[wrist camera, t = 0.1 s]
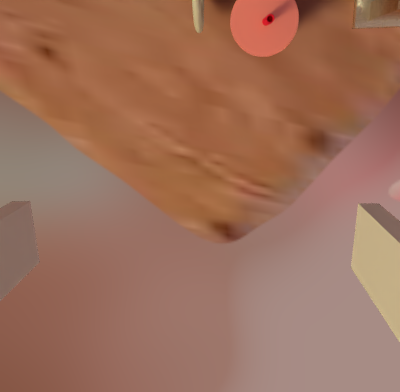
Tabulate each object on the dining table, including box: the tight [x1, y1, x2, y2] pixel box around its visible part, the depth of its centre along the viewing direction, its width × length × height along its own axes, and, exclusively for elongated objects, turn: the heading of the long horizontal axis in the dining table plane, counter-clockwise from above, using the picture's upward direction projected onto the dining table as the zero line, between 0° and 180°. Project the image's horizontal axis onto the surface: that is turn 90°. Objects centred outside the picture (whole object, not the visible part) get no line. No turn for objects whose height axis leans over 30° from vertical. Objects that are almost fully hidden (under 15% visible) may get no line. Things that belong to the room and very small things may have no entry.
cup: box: [230, 0, 299, 57], centre depth 33 cm, size 5×5×12 cm
